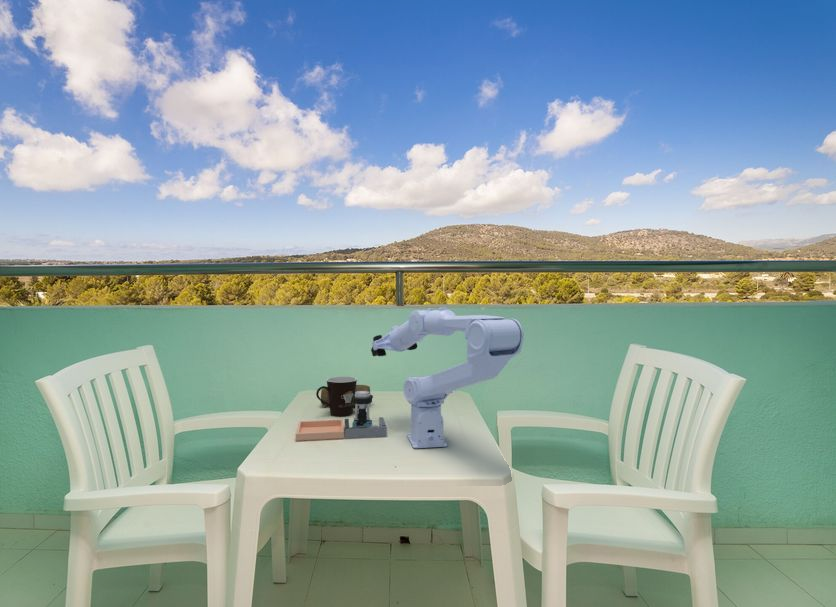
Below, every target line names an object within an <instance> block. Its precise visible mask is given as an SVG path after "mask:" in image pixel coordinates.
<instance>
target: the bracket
mask: <svg viewBox="0 0 836 607" xmlns="http://www.w3.org/2000/svg"><path fill="white" fill-rule="evenodd" d="M349 420H350V419H349V418H344V425H343V429H344V439H345V440H347V439H349V440H350V439H370V438H372V439H373V438H387V436H388V435H387V433H388V429H387V424H386V422H385V419H384V417H382V416H380V417H378V426H372V427H351V426H350V422H349Z"/></svg>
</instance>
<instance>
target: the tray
mask: <svg viewBox="0 0 836 607" xmlns="http://www.w3.org/2000/svg"><path fill="white" fill-rule="evenodd" d="M344 439H345V428H344V420H343V419H325V420H324V419H323V420H300V421H298V422H297V427H296V431H295V442H313V441H332V440H333V441H334V440H335V441H336V440H344Z"/></svg>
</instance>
